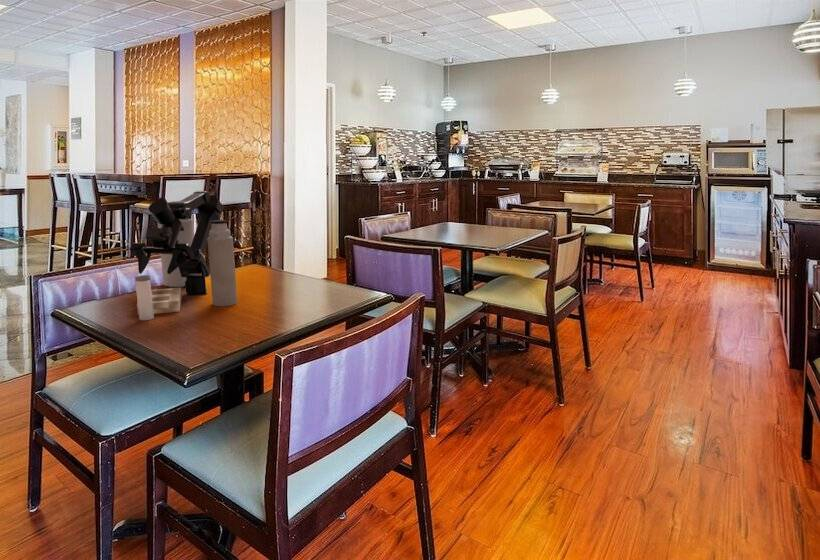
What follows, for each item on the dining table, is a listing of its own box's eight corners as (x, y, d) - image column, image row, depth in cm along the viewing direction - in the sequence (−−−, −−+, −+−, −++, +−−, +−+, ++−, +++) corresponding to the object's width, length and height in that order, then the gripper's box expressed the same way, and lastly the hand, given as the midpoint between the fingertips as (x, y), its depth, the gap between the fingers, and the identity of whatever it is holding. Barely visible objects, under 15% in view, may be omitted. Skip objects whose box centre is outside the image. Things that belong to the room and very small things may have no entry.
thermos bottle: (222, 299, 188) (216, 218, 182) (242, 301, 185) (236, 219, 179) (207, 305, 180) (200, 221, 174) (227, 307, 178) (221, 221, 172)
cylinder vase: (201, 280, 218) (196, 218, 213) (193, 287, 206) (187, 221, 201) (169, 281, 217) (163, 218, 211) (159, 288, 205) (152, 222, 199)
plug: (154, 316, 167) (150, 274, 164) (153, 319, 164) (149, 277, 161) (140, 317, 166) (135, 275, 163) (138, 320, 162) (134, 278, 159)
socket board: (181, 297, 191) (180, 283, 190) (179, 311, 172) (178, 296, 171) (144, 300, 187) (142, 286, 186) (137, 315, 168) (136, 299, 167)
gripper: (129, 217, 171) (112, 257, 162) (186, 217, 169) (171, 258, 161) (145, 239, 180) (130, 278, 172) (200, 239, 179) (186, 279, 170)
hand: (154, 273), depth 168 cm, fingers open, 9 cm apart
